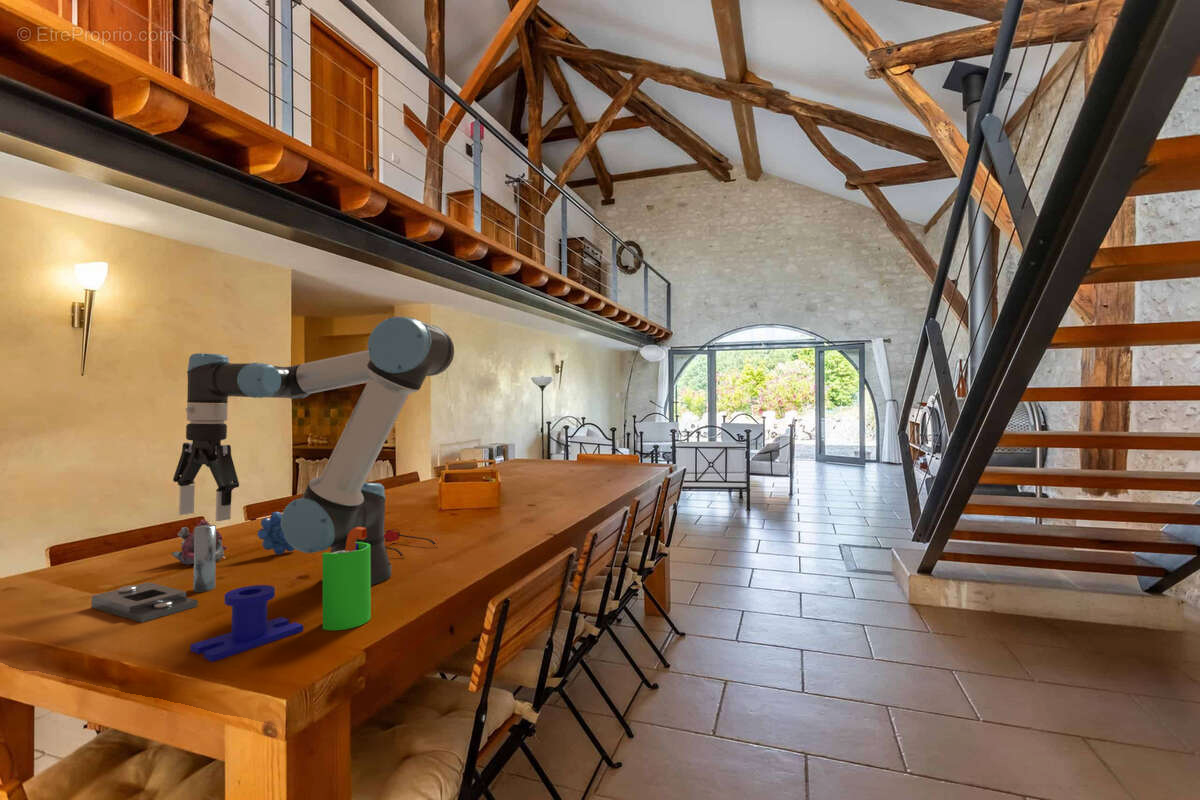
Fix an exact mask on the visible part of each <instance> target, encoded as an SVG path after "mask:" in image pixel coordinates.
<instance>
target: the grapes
mask: <svg viewBox="0 0 1200 800" xmlns="http://www.w3.org/2000/svg"><path fill="white" fill-rule="evenodd" d="M281 516H282V512H279V511H274V512H272V513H271V514H270V517H264V518H262V519H261V521H260V526H261V527H262V528H260V529H259V530H258V531H257V535H256V536H258V538H259V540H263V541H262V544H261V545H262V547H263V549H265V550H266V551H270V550H273V552H274V553H275V554H276V555H282V554H284V553H285V552H286V551H287V552H293V551H295V550H296V549H295V548H293V547H292V546H291V545H290V544H289V543H288V542H287V540H286V539H285V537H284V532H283V531H282V529H281Z"/></svg>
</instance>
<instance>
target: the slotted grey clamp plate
mask: <svg viewBox="0 0 1200 800" xmlns="http://www.w3.org/2000/svg"><path fill="white" fill-rule="evenodd" d="M198 600H199V599H193V598H189V597H187V591H185V590H181V589H177V588H173V587H170V586H165V585H161V584H157V583H153V582H149V581H147V582H145V583H140V584H136V585H135V584H134V585H133V584H131V585H126V586H121V587H119V588H118V589H115V590H110V591H107V592H103V593H98V594H94V595H91V608H92V607H93V608H92V609H94V608H96V609H95V610H97V609H99V610H98V611H100V610H102V611H101V612H104V613H107V612H108V613H107V614H111V615H113V616H118V617H120V616H121V617H120V618H123V617H125V618H124V619H127V618H128V619H127V620H130V619H131V620H130V621H133V620H135V621H134V622H136V621H138V622H137V623H140V622H142V623H145V622H144V621H146V622H148V620H149V621H152V620H155V618H156V619H158V617H159V618H162V617H161V616H163V617H165V616H169V615H172V614H173V615H174V614H175V613H179V612H182V611H186V610H189V609H192V608H193V609H194V608H196V607H198V606H199V604H198V602H199V601H198ZM151 619H152V620H151Z"/></svg>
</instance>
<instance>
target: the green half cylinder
mask: <svg viewBox="0 0 1200 800" xmlns="http://www.w3.org/2000/svg"><path fill="white" fill-rule="evenodd" d="M364 538H366V528H364V527H356V528H354V529H352V530H350V532H349V534H348V537H347V542H346V548H345V550H343V551H337V552H333V553H330V552H322V630H325V631H343V630H349V629H350V630H351V629H353V628H357V627H360V626H362V625H365V624H366V623H368V622H369V621H370V620H371V618H372V617H371V615H372V614H371V613H372V611H371V610H372V609H371V608H372V607H371V606H372V604H371V603H372V602H371V598H372V597H371V595H372V594H371V593H372V592H371V591H372V590H371V589H372V588H371V587H372V585H371V557H370V544H368V543H364V542H356V539H364Z"/></svg>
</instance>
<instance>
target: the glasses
mask: <svg viewBox="0 0 1200 800" xmlns="http://www.w3.org/2000/svg"><path fill="white" fill-rule="evenodd" d="M400 537H404V538H409V539H410V538H411V539H420V540H425V541H426V540H427V541H429V542H430V543H432V544H433V545H434V544H436V542H435V541H433V540H432V539H429V538H424V537H420V536H418V537H417V536H412V535H411V536H410V535H404V534H401V533H400V530H399V529H398V528H392V529H387V530H384V541H385V542H386V543H389V542H392V541H395V540H397V541H398V540H399V539H400ZM385 548H386V550H387V549H388V550H392V551H393V550H394V551H396V552H397V554H399V555H400V556H404V555H403V553H402V552H401V551H400V550H398V549H397V548H392V547H386V546H385Z"/></svg>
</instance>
